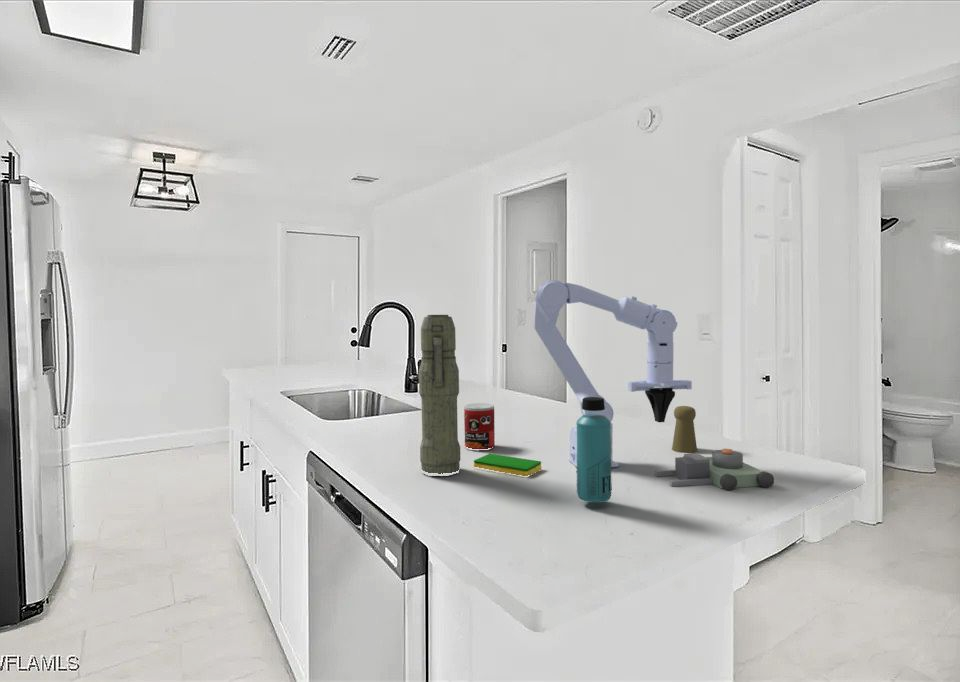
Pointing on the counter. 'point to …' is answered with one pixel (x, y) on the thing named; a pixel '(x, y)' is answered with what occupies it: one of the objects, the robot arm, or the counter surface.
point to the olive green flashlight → (439, 396)
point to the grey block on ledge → (692, 466)
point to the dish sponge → (508, 464)
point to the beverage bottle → (593, 453)
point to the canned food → (479, 426)
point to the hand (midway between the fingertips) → (659, 421)
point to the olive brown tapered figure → (684, 430)
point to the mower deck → (726, 472)
